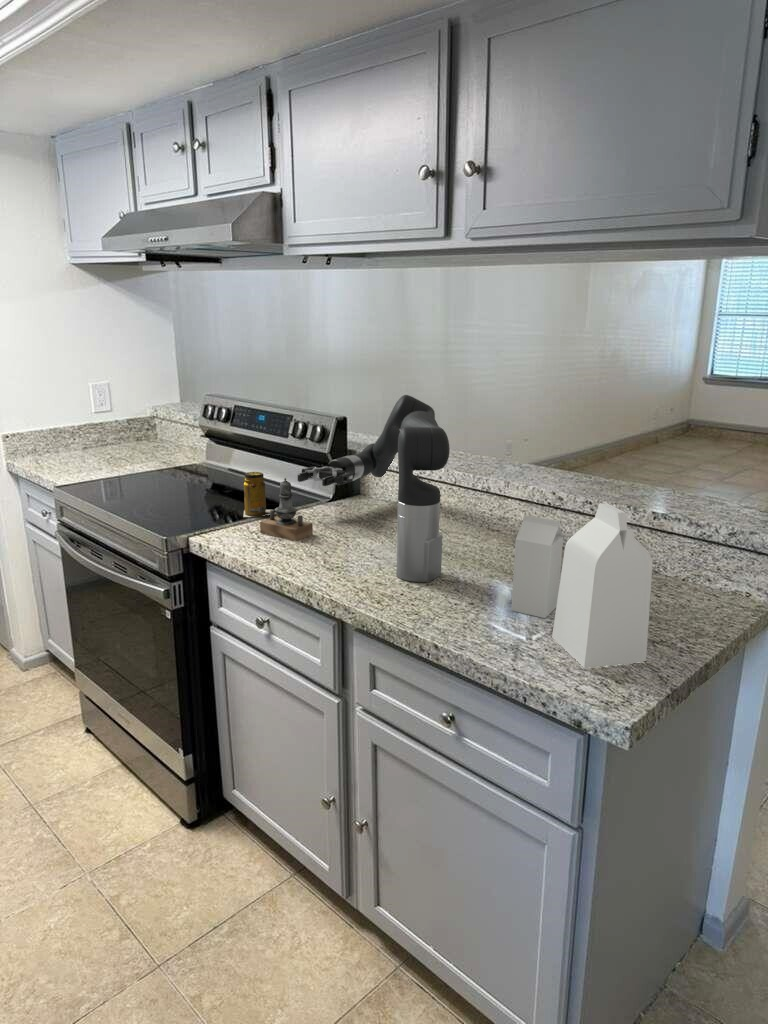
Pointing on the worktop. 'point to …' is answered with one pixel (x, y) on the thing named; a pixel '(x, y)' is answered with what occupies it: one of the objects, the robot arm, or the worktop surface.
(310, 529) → the walnut stand
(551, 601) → the milk carton
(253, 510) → the condiment
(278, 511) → the salt shaker
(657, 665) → the worktop surface
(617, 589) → the milk
